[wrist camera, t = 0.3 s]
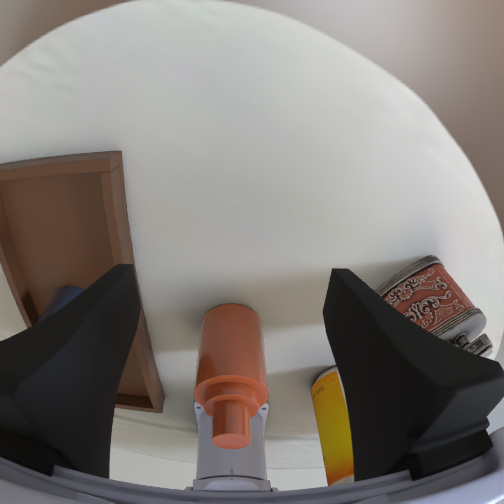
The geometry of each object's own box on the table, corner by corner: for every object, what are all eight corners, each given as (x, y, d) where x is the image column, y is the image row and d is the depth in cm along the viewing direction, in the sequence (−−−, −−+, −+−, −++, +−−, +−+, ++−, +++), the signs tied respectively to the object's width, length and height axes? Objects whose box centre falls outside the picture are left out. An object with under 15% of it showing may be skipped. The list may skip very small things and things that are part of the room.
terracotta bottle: (260, 347, 27) (268, 456, 18) (202, 346, 27) (193, 455, 18) (264, 304, 25) (276, 423, 16) (199, 302, 25) (185, 421, 15)
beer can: (305, 398, 32) (326, 525, 19) (315, 364, 29) (345, 512, 16) (357, 393, 32) (389, 512, 19) (373, 359, 29) (418, 493, 16)
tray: (164, 397, 31) (162, 413, 29) (71, 384, 31) (66, 398, 29) (121, 150, 18) (109, 158, 16) (-7, 165, 18) (-24, 174, 16)
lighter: (370, 324, 27) (409, 417, 18) (354, 303, 25) (394, 403, 17) (444, 273, 24) (505, 354, 16) (433, 247, 23) (502, 331, 14)
